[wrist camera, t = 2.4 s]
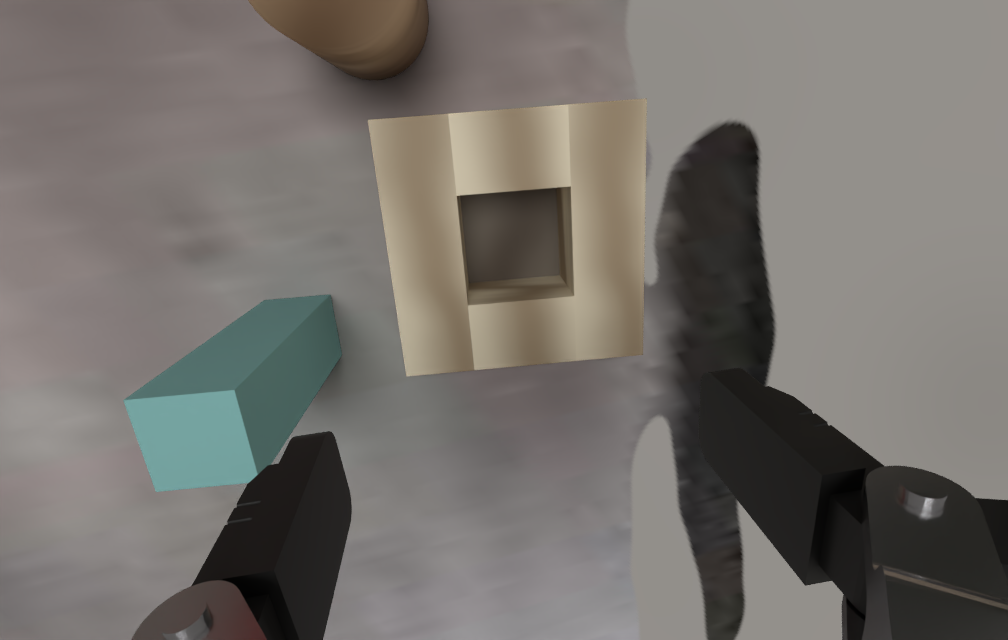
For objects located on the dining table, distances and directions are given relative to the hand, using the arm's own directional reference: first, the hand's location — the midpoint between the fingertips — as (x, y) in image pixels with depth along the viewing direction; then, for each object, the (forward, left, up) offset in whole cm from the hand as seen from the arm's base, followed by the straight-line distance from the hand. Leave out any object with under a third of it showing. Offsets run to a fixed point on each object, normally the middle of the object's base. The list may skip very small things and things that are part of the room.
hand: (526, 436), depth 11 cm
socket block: (+1, +2, -21) cm, 21 cm away
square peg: (-9, -8, -21) cm, 24 cm away
